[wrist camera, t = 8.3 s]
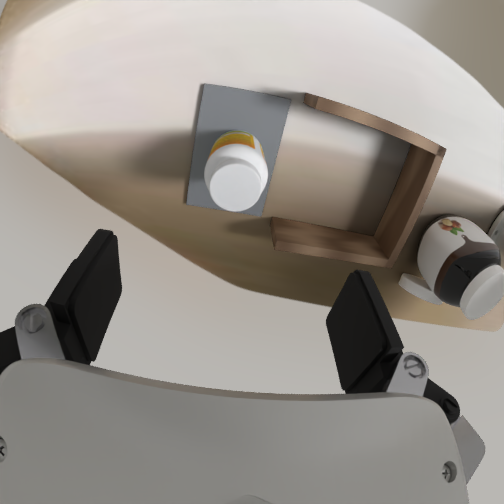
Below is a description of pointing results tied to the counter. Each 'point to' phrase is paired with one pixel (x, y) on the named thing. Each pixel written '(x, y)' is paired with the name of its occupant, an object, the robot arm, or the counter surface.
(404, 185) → the open front box
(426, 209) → the counter surface
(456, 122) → the counter surface
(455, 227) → the spread jar
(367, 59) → the counter surface
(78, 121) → the counter surface
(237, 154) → the supplement bottle
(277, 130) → the slate mat
